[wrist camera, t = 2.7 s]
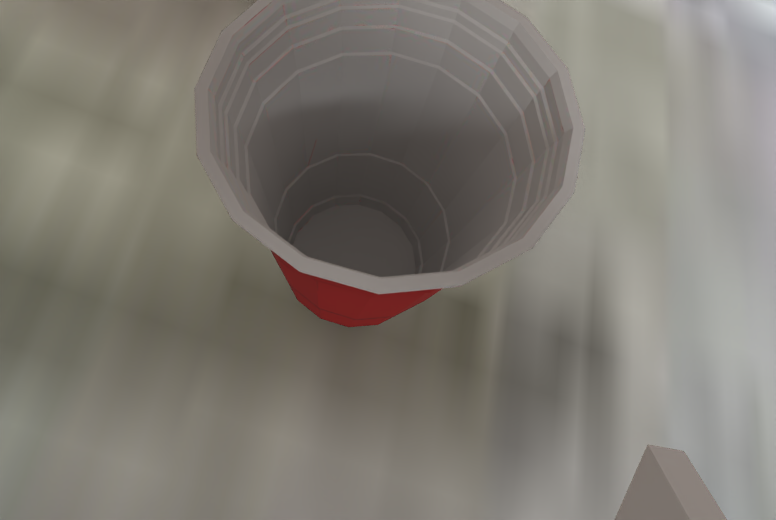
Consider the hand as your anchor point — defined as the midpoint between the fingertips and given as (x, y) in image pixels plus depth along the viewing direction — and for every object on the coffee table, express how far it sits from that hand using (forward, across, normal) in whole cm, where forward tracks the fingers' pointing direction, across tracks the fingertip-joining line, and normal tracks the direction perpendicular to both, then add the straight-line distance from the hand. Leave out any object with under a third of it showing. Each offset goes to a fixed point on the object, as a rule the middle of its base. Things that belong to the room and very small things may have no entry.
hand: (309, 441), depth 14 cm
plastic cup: (+17, +1, -3) cm, 17 cm away
